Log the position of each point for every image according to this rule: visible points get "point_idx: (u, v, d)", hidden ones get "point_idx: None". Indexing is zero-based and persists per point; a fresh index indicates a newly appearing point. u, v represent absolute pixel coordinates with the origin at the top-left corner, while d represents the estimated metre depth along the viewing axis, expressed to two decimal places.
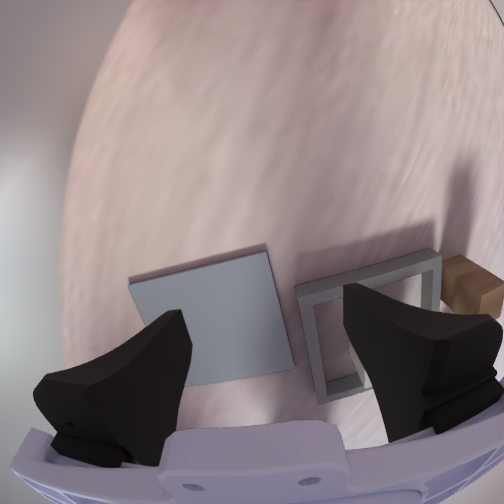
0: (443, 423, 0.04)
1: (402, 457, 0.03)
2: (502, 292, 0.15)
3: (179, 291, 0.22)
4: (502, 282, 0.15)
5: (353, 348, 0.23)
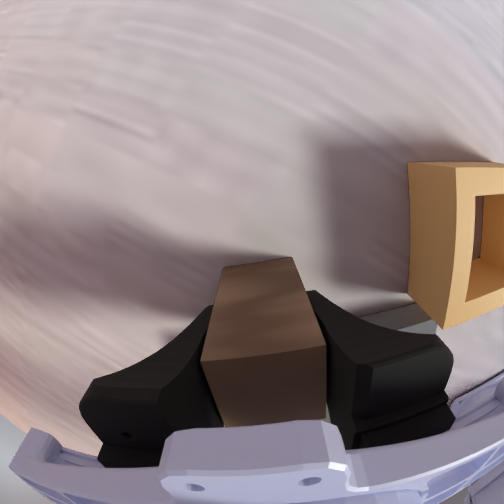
0: None
1: (402, 457, 0.03)
2: (231, 369, 0.07)
3: None
4: None
5: None
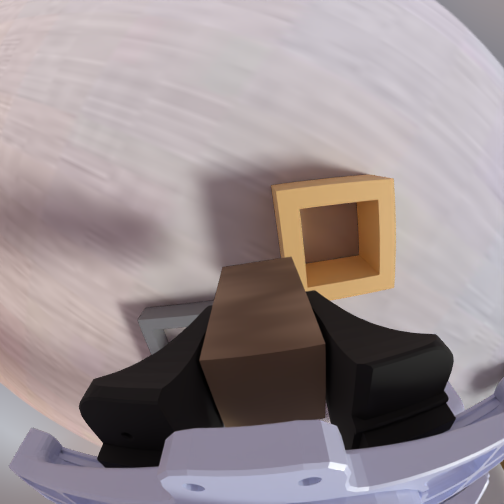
0: None
1: (402, 457, 0.03)
2: (230, 368, 0.07)
3: None
4: None
5: None
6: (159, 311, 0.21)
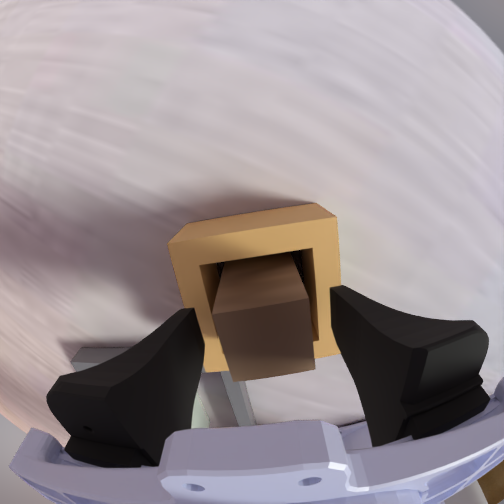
0: (421, 433, 0.04)
1: (402, 457, 0.03)
2: (235, 320, 0.10)
3: None
4: None
5: None
6: (91, 354, 0.18)
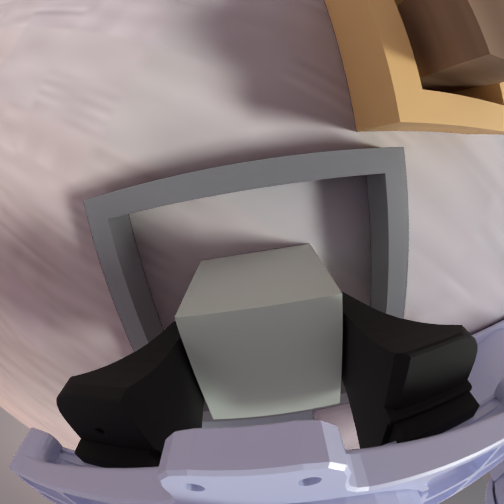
0: (405, 439, 0.04)
1: (402, 457, 0.03)
2: None
3: None
4: None
5: None
6: None
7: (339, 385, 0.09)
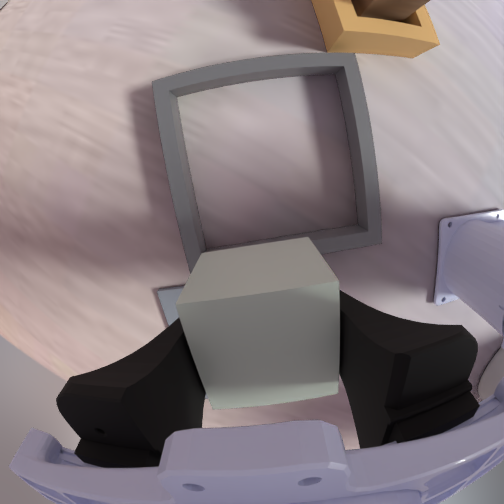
0: (405, 439, 0.04)
1: (402, 457, 0.03)
2: None
3: None
4: None
5: None
6: None
7: (337, 374, 0.09)
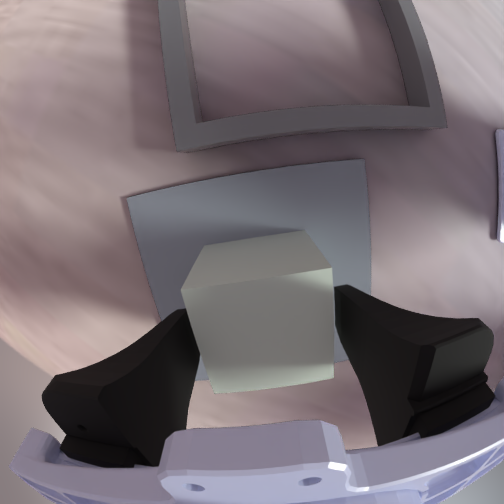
0: (429, 429, 0.04)
1: (402, 457, 0.03)
2: None
3: None
4: None
5: None
6: None
7: (332, 359, 0.10)
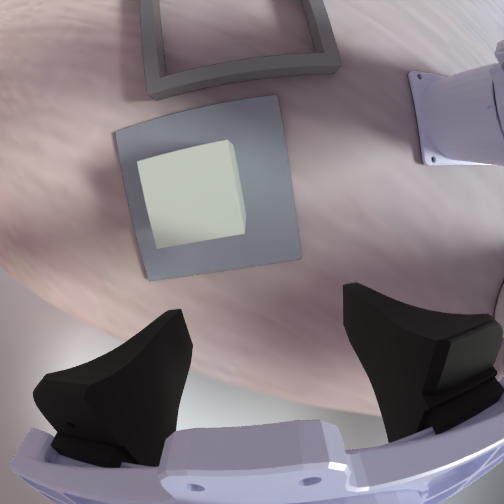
0: (443, 423, 0.04)
1: (402, 457, 0.03)
2: None
3: None
4: None
5: None
6: None
7: (240, 213, 0.14)
